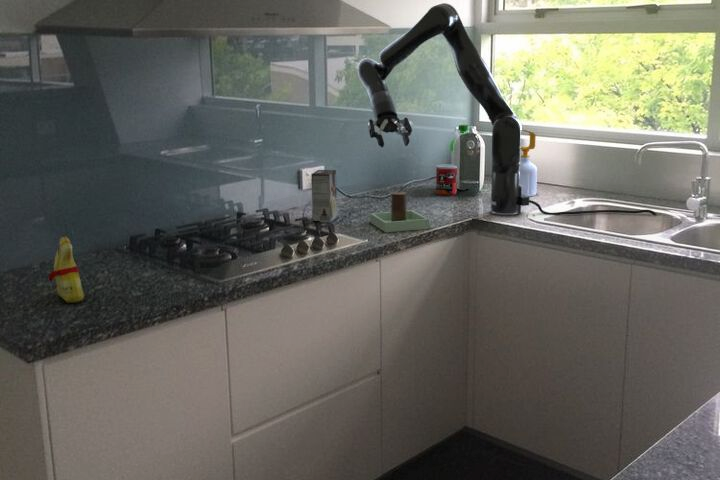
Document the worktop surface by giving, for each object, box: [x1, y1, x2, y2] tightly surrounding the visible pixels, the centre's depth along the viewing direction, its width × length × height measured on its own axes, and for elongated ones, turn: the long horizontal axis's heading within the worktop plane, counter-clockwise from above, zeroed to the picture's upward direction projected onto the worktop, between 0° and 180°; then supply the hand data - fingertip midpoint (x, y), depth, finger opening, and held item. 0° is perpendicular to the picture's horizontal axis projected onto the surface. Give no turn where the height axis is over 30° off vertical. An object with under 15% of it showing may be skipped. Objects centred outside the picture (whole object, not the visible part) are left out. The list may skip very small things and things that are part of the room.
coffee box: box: [310, 169, 338, 223], centre depth 274 cm, size 9×6×16 cm
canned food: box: [435, 163, 458, 197], centre depth 314 cm, size 8×8×11 cm
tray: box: [369, 209, 430, 233], centre depth 265 cm, size 15×15×3 cm
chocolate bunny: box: [48, 236, 85, 304], centre depth 194 cm, size 7×11×15 cm, turn 36°
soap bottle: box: [519, 128, 538, 197], centre depth 310 cm, size 9×9×25 cm
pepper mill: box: [390, 191, 407, 222], centre depth 265 cm, size 5×5×10 cm
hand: (395, 145), depth 273 cm, fingers open, 8 cm apart
